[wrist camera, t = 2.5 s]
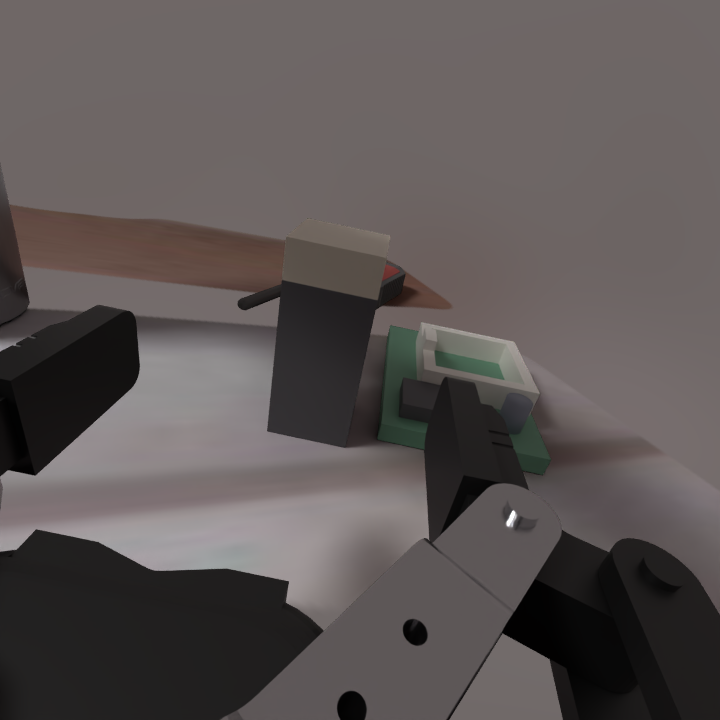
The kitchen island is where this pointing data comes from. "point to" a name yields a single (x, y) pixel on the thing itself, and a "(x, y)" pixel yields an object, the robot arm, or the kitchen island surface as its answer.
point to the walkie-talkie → (388, 290)
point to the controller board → (465, 362)
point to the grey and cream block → (324, 328)
